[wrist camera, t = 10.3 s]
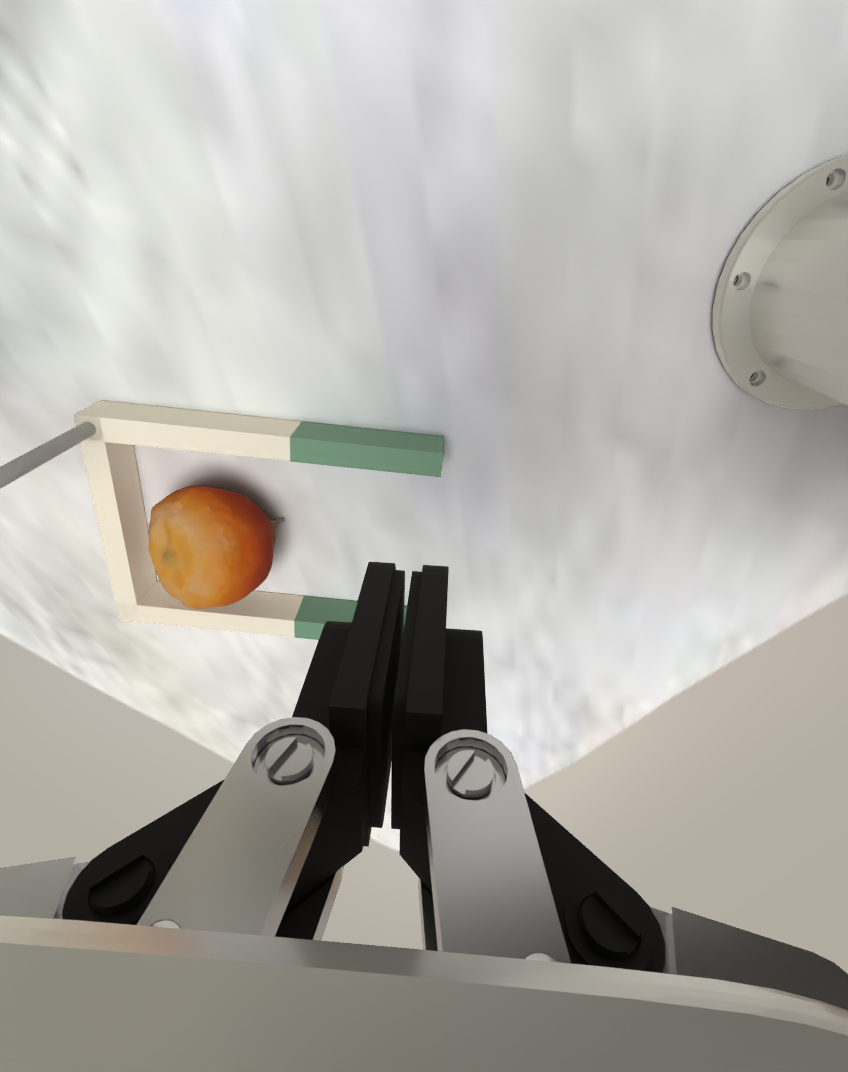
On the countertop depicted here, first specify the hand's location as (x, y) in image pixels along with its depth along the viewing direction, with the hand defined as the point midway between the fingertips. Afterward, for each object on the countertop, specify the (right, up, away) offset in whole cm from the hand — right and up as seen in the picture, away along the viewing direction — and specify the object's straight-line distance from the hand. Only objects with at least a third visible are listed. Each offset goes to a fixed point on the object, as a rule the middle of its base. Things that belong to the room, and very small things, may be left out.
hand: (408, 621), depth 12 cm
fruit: (-13, +3, +27) cm, 30 cm away
